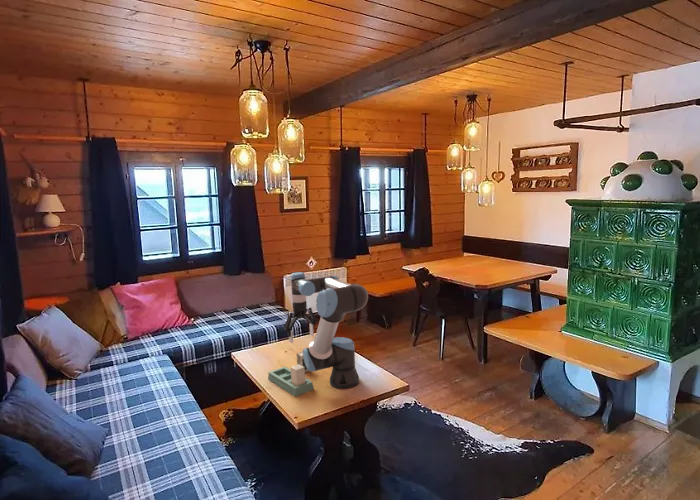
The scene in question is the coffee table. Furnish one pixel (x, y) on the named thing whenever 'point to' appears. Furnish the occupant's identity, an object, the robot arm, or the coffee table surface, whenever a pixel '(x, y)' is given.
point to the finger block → (301, 360)
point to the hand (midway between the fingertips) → (301, 338)
